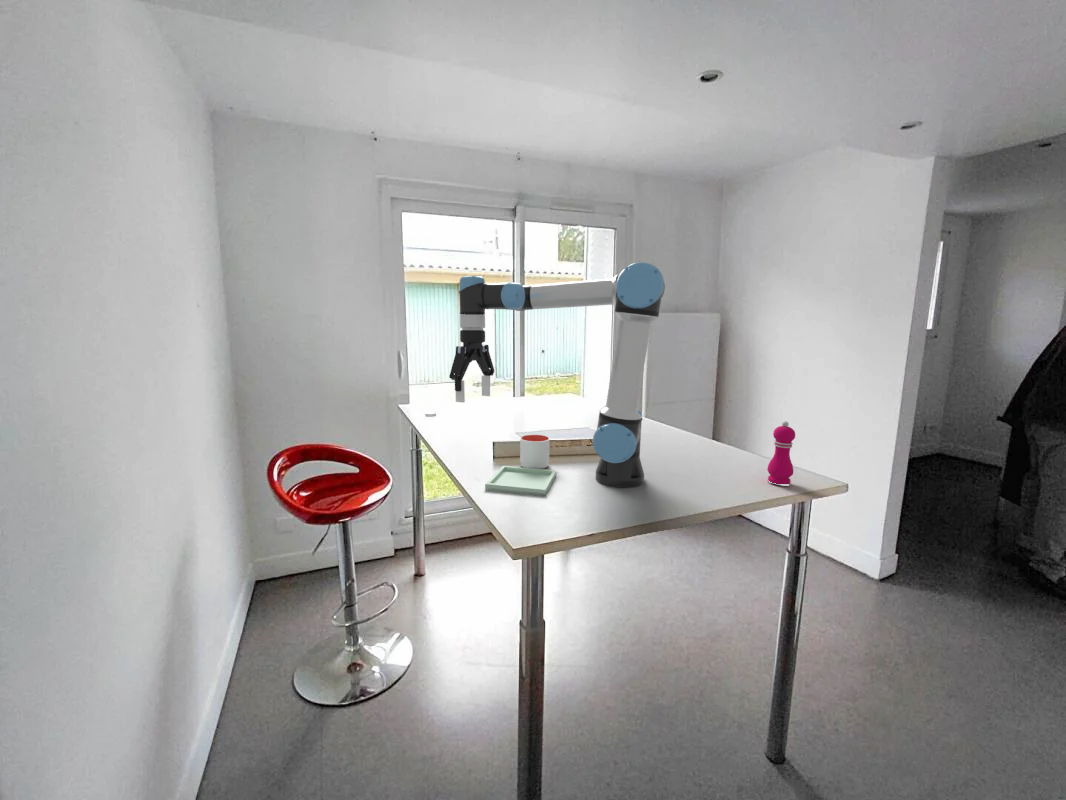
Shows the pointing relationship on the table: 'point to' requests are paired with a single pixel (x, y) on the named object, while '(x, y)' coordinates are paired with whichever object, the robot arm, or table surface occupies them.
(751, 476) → the table surface
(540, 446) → the cup
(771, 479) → the pepper mill
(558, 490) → the table surface
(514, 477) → the tray
